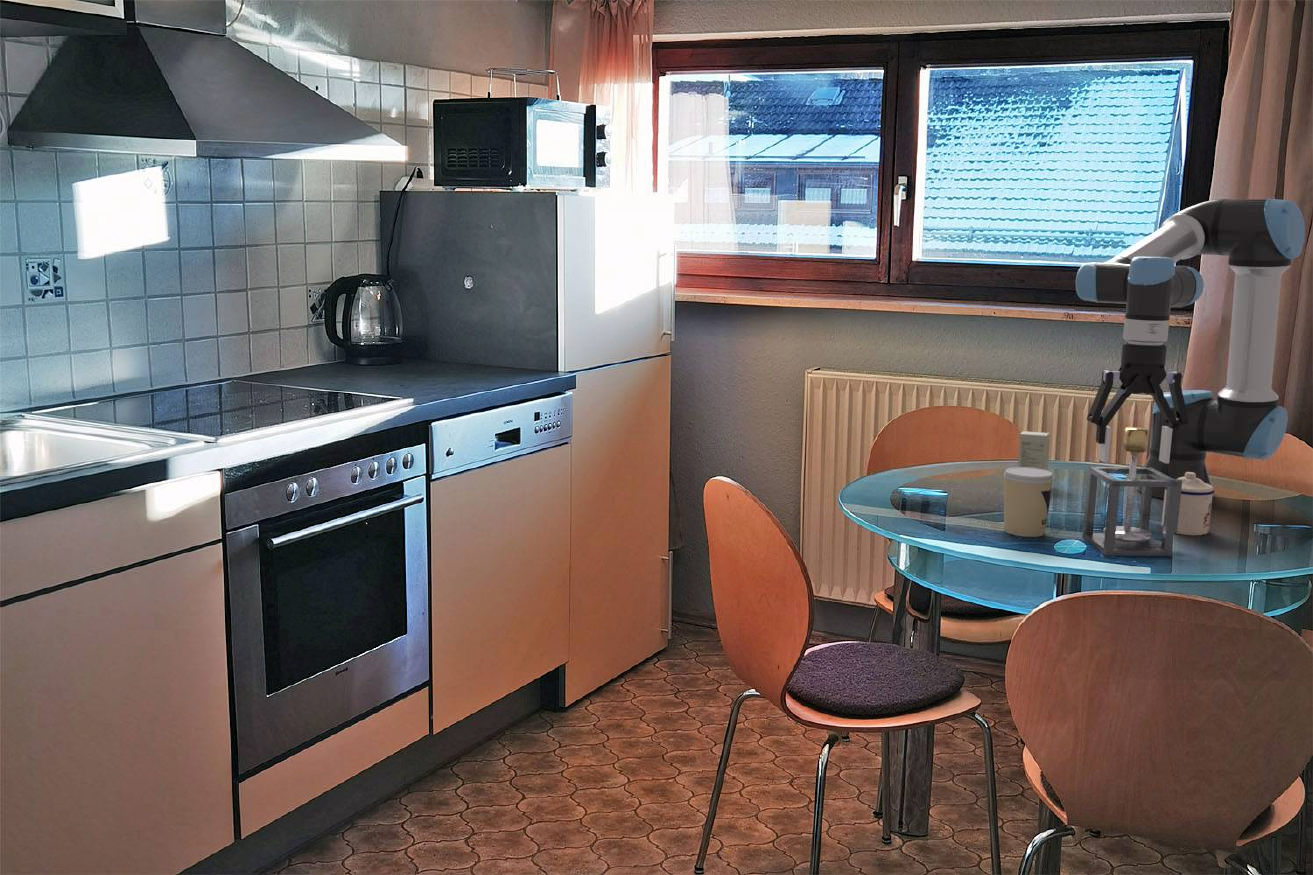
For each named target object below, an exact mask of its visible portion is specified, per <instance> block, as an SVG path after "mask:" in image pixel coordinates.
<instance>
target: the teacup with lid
mask: <svg viewBox="0 0 1313 875" xmlns="http://www.w3.org/2000/svg"><path fill="white" fill-rule="evenodd" d="M1195 477H1196V474H1195V473H1193V472H1186V473H1185V477H1180V478H1178V479H1180V480H1182V489H1181V499H1180V508H1179V518H1178V528H1177V533H1175V534H1177V535H1184V536H1203V534H1204V535H1207V534H1208V533H1209V531H1210V525H1211V524H1210V523H1211V514H1212V504H1213V494H1214V493H1215V489H1214V487H1213V485H1212V484H1211V485H1209V484H1207V483H1204V482H1203V481H1202V480H1200V479H1198V478H1195ZM1164 488H1165V495H1164V498H1163V506H1162V507H1163V508H1162V517H1161V525H1163V524H1164V514H1165V504H1166V493H1167V487H1164Z"/></svg>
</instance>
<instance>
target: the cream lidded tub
mask: <svg viewBox="0 0 1313 875" xmlns="http://www.w3.org/2000/svg"><path fill="white" fill-rule="evenodd" d="M1003 477H1004V478H1003V530H1004V532H1006V533H1007V534H1009V535H1012V534H1013V536H1017V537H1026V538H1031V537H1032V538H1033V537H1034V538H1037V537H1042V536H1044V535H1045V534H1046V527H1047V523H1048V515H1049V511H1050V503H1051V497H1052V490H1053V484H1054V483H1053V482H1054V479H1055V477H1054V474H1053V472H1052V471H1049V469H1048V470H1044V469H1039V468H1031V467H1018V466H1015V467H1014V466H1013V467H1007V468H1006V469H1005V471H1004V472H1003Z"/></svg>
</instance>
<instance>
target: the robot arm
mask: <svg viewBox="0 0 1313 875" xmlns="http://www.w3.org/2000/svg"><path fill="white" fill-rule="evenodd" d="M1304 220H1305V219H1304V216H1303V213H1302V211H1301V209H1300V207H1299V206H1298V205H1297V204H1296V202H1294V201H1292V200H1286V199H1278V198H1257V199H1256V198H1251V199H1249V198H1245V199H1244V198H1243V199H1242V198H1241V199H1240V198H1239V199H1236V198H1234V199H1231V198H1230V199H1229V198H1228V199H1227V198H1216V199H1212V200H1208V201H1203V202H1200V203H1197V204H1195V205H1194V204H1193V205H1192V206H1189V207H1186V208H1185V209H1183V210H1181V211H1178V212H1176V213H1174V214H1173V215H1171V216H1170V217H1168V218H1166V219H1165V220H1164V221H1163V222H1162V224H1161V225H1160V227H1159V229H1158V230H1156V231H1155V232H1153V233H1150V235H1147V236H1146V237H1145V238H1143V239H1141V240H1140V241H1138V242H1136V243H1135V244H1133V245H1132V246H1130V247H1128V248H1127V249H1125V250H1123V251H1122V252H1120V253H1119V254H1117V255H1116V256H1114V257H1113V258H1111V259H1109V260H1107V261H1106V262H1099V261H1095V262H1086V263H1084V264H1082V265H1081V266H1080V268H1079V269H1078V270H1077V273H1076V277H1075V292H1076V294H1077V296H1078V298H1080V299H1081V300H1083V301H1086V302H1087V301H1089V302H1095V303H1097V304H1098V303H1104V304H1109V303H1110V304H1120V305H1122V304H1125V305H1126V306H1125V314H1124V323H1123V334H1122V339H1123V340H1124V341H1125V342H1123V343H1122V345H1121V346H1122V347H1121V355H1120V356H1121V358H1120V367H1119V369H1118V370H1111V371H1110V370H1106V369H1104V370H1103V371H1102V372H1101V383H1100V385H1099V387H1098V389H1097V390H1098V391H1097V392H1096V395H1095V397H1094V400H1093V401H1092V402H1093V403H1092V404H1091V407H1090V409H1089V412H1088V414H1087V417H1086V420H1087V421H1088V422H1090V423H1092V424H1094V425H1096V430H1095V433H1096V435H1095V441H1096V443H1097V444H1099V453H1098V460H1099V461H1101V462H1103V463H1109V461H1110V460H1109V458H1110V449H1111V448H1110V447H1111V435H1112V427H1110V426H1108V425H1109V423H1110V422H1111V421H1112V419H1113V418H1114V417H1115V415H1116V414H1117V412H1118V411H1119V410H1120V409H1121V407H1122V406H1123V404H1124V403H1125V401H1126V400H1127V399H1128V398H1129V397H1130V396H1131V395H1132V394H1134V395H1138V394H1146V395H1151V397H1152V399H1153V400H1154V401H1153V402H1154V403H1153V409H1152V412H1151V427H1150V440H1149V451H1148V458H1147V460H1146V463H1145V464H1144V467H1151V468H1153V469H1155V470H1157V471H1159V472H1161V473H1163V474H1165V475H1167V476H1169V477H1171V478H1173V479H1178V478H1180V477H1185V473H1186V472H1193V473H1195V474H1196V477H1195V478H1198V479H1200V480H1202V481H1203V482H1204V483H1207V484H1209V485H1211V486H1212V484H1211V480H1210V476H1209V472H1208V468H1207V463H1206V461H1207V460H1206V458H1207V453H1211V454H1218V455H1224V456H1225V455H1226V456H1231V457H1239V458H1243V459H1246V460H1248V459H1251V460H1252V459H1253V460H1261V461H1262V460H1267V459H1270V458H1272V456H1273V455H1274V454H1275V453H1276V452H1277V451H1278V449H1279V448H1280V446H1281V444H1282V442H1283V440H1284V437H1285V434H1286V431H1287V428H1288V421H1289V415H1288V410H1287V408H1285V407H1284V406H1281V405H1279V397H1280V396H1279V395H1278V393H1276V392H1275V390H1273V388H1272V383H1273V375H1274V374H1273V372H1274V361H1275V352H1276V340H1277V339H1276V338H1277V329H1278V316H1279V307H1280V298H1281V297H1280V295H1281V287H1282V286H1281V284H1282V275H1283V274H1284V273H1285V272H1286V271H1287V270H1288V269H1290V268H1291V265H1292V260H1293V259H1296V258H1298V257H1299V256H1300V255H1301V254H1302V252H1303V249H1304V244H1305V238H1306V226H1305V221H1304ZM1200 255H1209V256H1210V255H1211V256H1212V255H1213V256H1227V257H1228V259H1227V261H1228V263H1227V266H1228V267H1229V268H1230V270H1232V271H1233V272H1234V274H1235V275H1234V276H1235V277H1234V288H1233V298H1232V311H1231V324H1230V336H1229V337H1230V338H1229V349H1228V363H1227V376H1226V385H1225V387H1224V388H1222V389H1221V390H1220V391H1218V393H1217V398H1214V394H1213V391H1211V390H1205V389H1190V390H1187V389H1186V390H1183V389H1182V379H1183V374H1182V373H1181V372H1179V371H1175V370H1172V371H1166V367H1165V366H1166V361H1167V360H1166V359H1167V358H1166V357H1167V350H1168V349H1167V348H1168V347H1167V345H1166V344H1165V343H1166V342H1167V341H1168V337H1169V327H1170V317H1171V316H1170V315H1171V308H1180V309H1181V308H1184V307H1186V306H1190V305H1192V304H1194V303H1195V302H1197V301H1198V300H1199V299H1200V297H1201V296H1202V294H1203V292H1204V287H1205V286H1204V285H1205V283H1204V278H1203V276H1202V275H1201V273H1200V272H1199V271H1198V270H1196V268H1193V267H1191V266H1186V265H1176V266H1175V264H1176V263H1177V262H1179V261H1180V260H1187V259H1191V258H1193V257H1195V256H1200ZM1118 378H1119V380H1120V382H1121V384H1120V385H1119V387H1118V388H1117V389H1116V392H1115V394H1114V396H1113V397H1112V398H1111V400H1110V401H1109V403H1108V404H1107V405H1106V403H1107V401H1108V398H1109V396H1110V393H1111V392H1112V389H1113V385H1114V384H1115V383H1116V381H1117V379H1118ZM1164 380H1166V383H1167V384H1168V388H1169V391H1164V392H1163V389H1162V387H1161V384H1162V383H1163V381H1164ZM1105 405H1106V407H1105ZM1104 407H1105V408H1104ZM1139 475H1140V476H1139V477H1138V479H1137V480H1143V474H1139ZM1153 480H1157V479H1155V478H1154V479H1153ZM1136 488H1137V491H1138V492H1139V493H1140V494H1142V487H1136ZM1164 495H1165V488H1164V487H1153V490H1152V497H1154V498H1158V499H1164Z"/></svg>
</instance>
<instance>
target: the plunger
mask: <svg viewBox="0 0 1313 875" xmlns="http://www.w3.org/2000/svg"><path fill="white" fill-rule="evenodd" d="M1148 438H1149V429H1148V428H1144V427H1135V426H1126V427H1125V428H1124V438H1123V445H1122V446H1123V448H1122V450H1123V451H1124V452H1130V461H1129V467H1130V469H1129V474H1128V479H1132V480H1137V479H1136V478H1137V474H1136V469H1137V467H1138V466H1137V465H1138V458H1139V456H1138V455H1139V453H1140V454H1141V453H1146V452H1147V449H1148ZM1135 488H1136V487H1127V492H1126V493H1127V494H1126V502H1125V504H1126V505H1125V513H1124V524H1123V525H1116V535H1115V540H1119V541H1125V542H1146V541H1149V540H1151V538H1152V533H1151V532H1150V531H1146V530H1143V529H1139V528H1138V527H1135V526H1134V527H1133V526H1132V520H1133V513H1134V512H1133V509H1134V501H1135V490H1136V489H1135ZM1102 533H1103V535H1104V536H1105V527H1104V528H1103V529H1102Z"/></svg>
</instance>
